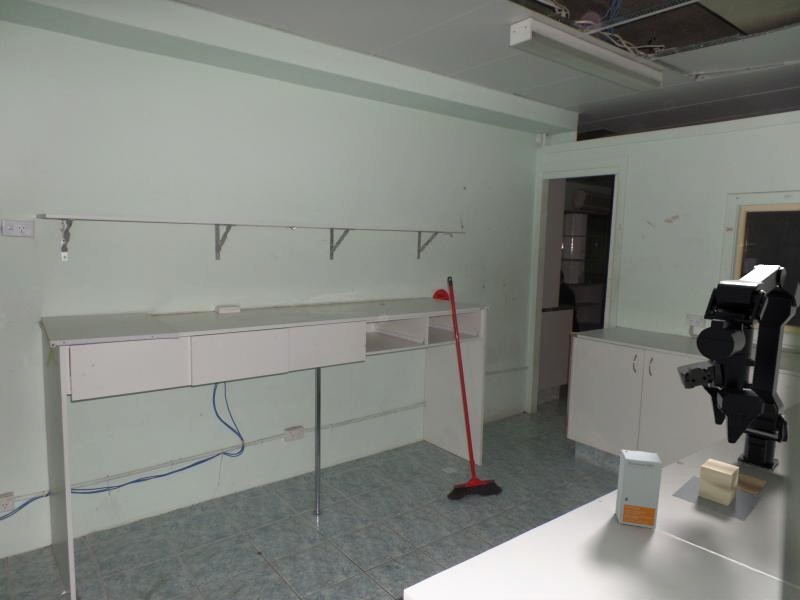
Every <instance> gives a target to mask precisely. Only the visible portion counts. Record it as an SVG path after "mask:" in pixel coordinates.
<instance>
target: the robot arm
mask: <svg viewBox="0 0 800 600" xmlns="http://www.w3.org/2000/svg"><path fill="white" fill-rule="evenodd" d="M799 307H800V282H799V281H798V280H797V279H796V278H794V277H793V276H791V275H789V274H788V273H787V270H786V268H785V267H782V266H781V265H768V264H767V265H766V264H765V265H764V264H758V265H754V267H753V268H752V270H751V271H750V272H749V273H747V274H746V275H744V276H743V277H741V278H739V279H726V280H721V281H719V282H718V283H717V285H716V286H714V287H713V289H712V292H711V295H710V298H709V300H708V303H707V307H706V309H705V313H704V314H703V320H709V321H710V326H709V327H706V328H704V329H703V330H701V331H700V333H699V334H698V336H697V337H696V347H697V350H698V351H699V353H700V354H701V355H702V356H703V357H704V358H706V359H708V360H704V361H697V362H693V363H689V364H686V365H685V364H684V365H681V366H677V368H676V369H677V373H678V376H679V379H680V382H681V385H683V388H684V389H687V390H688V389H689V390H691V389H694V388H695V387H699V386H702V388H703V389H704V390H705V392H706V393H708V395H709V397H710V402H711V408H712V413H713V419H714V424H715V425H718V426H722V425H723V423H724V421H725V429H726V439H727V443H729V444H736V443H738V442H737V441H738V440H739V439H740V438H741V436H742V435H743V434H744V444H743V452H742V453H741V454H740V455H739V456H738V457H737V461H739V462H743V463H746V464H749V465H751V466H752V465H753V466H756V467H760V468H763V469H767V470H770V469H771V470H770V471H773V469H775V467H776V465H778V464H779V462H780V459H778V458H775V456H776V448H777V443H779V444H782V443H783V442H785V443H788V441H789V437H790V436H789V434H790V431H789V423H788V421H787V415H785V414H784V410H785V409H784V408H785V405H784V403H783V401H782V399H781V397H780V396H779V393H778V390H777V389H778V382H779V375H780V374H779V373H780V365H781V359H782V358H781V357H782V348H783V341H784V333H785V326H786V324H788V322H790V320H791V319H792V318H793V317H794V316H795V315H796V314H797V313H796V311H797V308H799ZM757 323H758V331H757V338H756V339H757V340H756V346H755V347H756V348H755V355H754V359H752V353H753V345H754V336H755V333H754V332H755V325H757ZM751 367H753V371H752V372H753V373H752V379H751V380H752V381H750V373H751Z"/></svg>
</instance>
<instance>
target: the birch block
mask: <svg viewBox="0 0 800 600" xmlns="http://www.w3.org/2000/svg"><path fill="white" fill-rule="evenodd" d="M738 473H740V466H737V465H733V464H729V463H727V462H724V461H720V460H716V459H713V458H708V459H707V460H706V461H705V462H704V463H703V464H702V465H700V474H699V478H700V483H699V493H698V496H700V497H703V498H706V499H709V500H712V501H715V502H717V503H720V504H723V505H726V506H728V505H729V504H730V503H731V502H732V501H733V500H734V499H735V497H736V491H737V490H738V489H737V482H738Z"/></svg>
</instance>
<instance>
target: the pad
mask: <svg viewBox="0 0 800 600" xmlns="http://www.w3.org/2000/svg"><path fill="white" fill-rule="evenodd" d="M767 483H768V480H763V479H760V478H757V477H754V476H750V475H746V474H743V473H740V472H739V473H738V482H737V490H739V491H742V492H745V493H748V494H751V495H754V496H758V495H759V494H760V492H761V491H762V490H763V488H764V487H765V486H766V485H767Z"/></svg>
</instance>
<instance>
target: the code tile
mask: <svg viewBox="0 0 800 600" xmlns="http://www.w3.org/2000/svg"><path fill="white" fill-rule="evenodd" d="M699 483H700V476H699V477H698V476H696V475H693V476H691V478H690V479H688V481H686V482H685V483H684V484H682V486H681V487H679V488H678V489H677V490H676V491H675V492H673V494H671V496H673V497H676V498H678V499H681V500H684V501H686V502H690V503H692V504H695V505H698V506H702V507H704V508H707V509H710V510H712V511H715V512H718V513H719V514H720V513H721V514H724V515H725V516H726V515H727V516H728V517H731V518H734V519H738V520H740V521H743V522H745V521H746V520H747V518H749V516H750V514H751V513H752V512H753V511H754V509H755V508H756V507H757V506H758V504H759V503H760V502H761V500H763V497H760V496H758V495H754V494H751V493H748V492H745V491H742V490H739V489H737V491H736V497H735V499H734V500H733V501H732V502H731V503H730V504H729V505H728V506H726V505H723V504H720V503H717V502H715V501H712V500H709V499H706V498H703V497H700V496H698V493H699Z"/></svg>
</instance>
